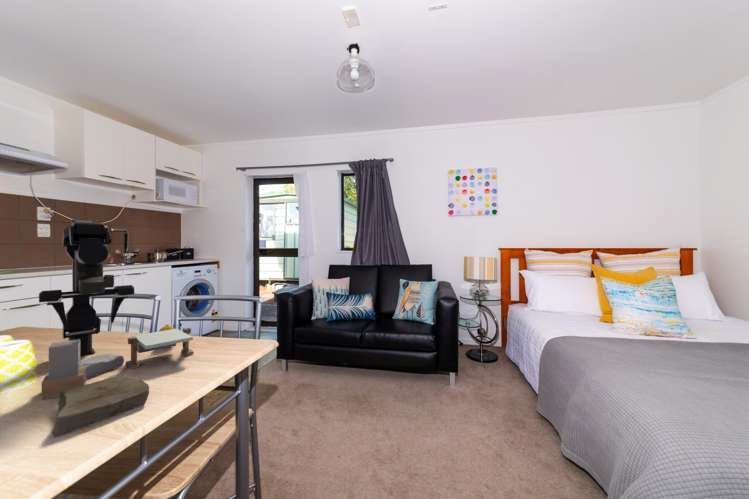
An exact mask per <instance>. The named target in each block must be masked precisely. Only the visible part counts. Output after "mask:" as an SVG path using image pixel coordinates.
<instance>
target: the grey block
mask: <svg viewBox="0 0 749 499" xmlns="http://www.w3.org/2000/svg"><path fill="white" fill-rule="evenodd" d="M80 362H81V356H80V339H78V340H71V341H68V340H64V341H57V342H52V343H50V346H49V347H48V373H49V380H52V379H57V378H63V377H68V376H74V375H78V373H79V371H80Z"/></svg>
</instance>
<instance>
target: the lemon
mask: <svg viewBox="0 0 749 499" xmlns="http://www.w3.org/2000/svg"><path fill="white" fill-rule="evenodd" d="M171 329H176V328H175V327H174V326H173V325H169V324H165V325H164V326H162V327H160V329H159V330H158V332H159V331H165V330H171Z"/></svg>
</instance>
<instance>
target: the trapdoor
mask: <svg viewBox="0 0 749 499" xmlns="http://www.w3.org/2000/svg"><path fill="white" fill-rule="evenodd" d="M132 337H136V338H137V354H141V353H142V354H143V353H148V352H152V351H157V350H161V349H167V348H171V347H176V346H177V344H182V343H183V342H186V341H189V342H191V341H193V340H194V337H193V336H191V335H190V334H189V335H188V334H186V333H184V332H183V330H180V329H178V328H175V329H171V330H165V331H159V330H158V331H154V332H148V333H142V334H135V335H132Z"/></svg>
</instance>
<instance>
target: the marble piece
mask: <svg viewBox="0 0 749 499" xmlns="http://www.w3.org/2000/svg"><path fill="white" fill-rule="evenodd" d="M149 395H150V386H149V384H148V383H146V381H144V380H143V379H141V378H139V377H135V376H134V377H129V376H126V375H114V376H111V377H107V378H104V379H101V380H97V381H94V382H91V383H87V384H86V383H85V385H82V386H78V387H74V388H70V389H67V390H63V391H62V392H61V393H60V396H59V397H58V398H59V400H58V414H57V418H55V419H56V420H55V423H54V425H53V428H52V435H53V436H54V437H61V436H64V435H67V434H68V433H71V432H76V431H77V430H80V429H83V428H85V427H88V426H91V425H93V424H96V423H99V422H102V421H105V420H108V419H110V418H112V417H116V416H118V415H121V414H123V413H126V412H128V411H131V410H134V409H138V408H140V407H142V406H145V405H146V403H147V400H148V397H149Z"/></svg>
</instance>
